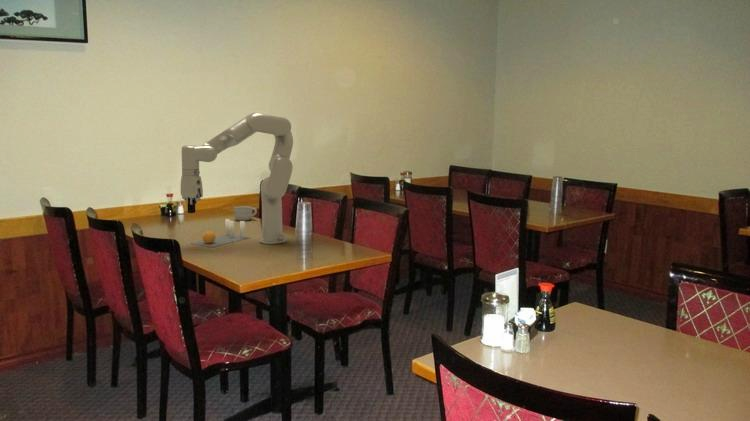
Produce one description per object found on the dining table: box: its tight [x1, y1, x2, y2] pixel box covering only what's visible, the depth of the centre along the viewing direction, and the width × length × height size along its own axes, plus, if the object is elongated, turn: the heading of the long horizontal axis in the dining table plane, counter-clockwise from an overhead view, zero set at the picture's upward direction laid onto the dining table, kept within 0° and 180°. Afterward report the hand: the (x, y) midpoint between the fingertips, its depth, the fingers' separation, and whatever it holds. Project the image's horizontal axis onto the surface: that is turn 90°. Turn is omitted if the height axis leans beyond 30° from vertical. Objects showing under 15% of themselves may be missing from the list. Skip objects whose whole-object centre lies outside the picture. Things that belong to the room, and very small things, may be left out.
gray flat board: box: [190, 234, 252, 248], centre depth 287 cm, size 14×26×1 cm, turn 149°
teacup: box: [233, 205, 258, 222], centre depth 340 cm, size 14×11×8 cm
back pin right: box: [224, 218, 231, 236], centre depth 296 cm, size 2×2×8 cm
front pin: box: [229, 220, 235, 238], centre depth 292 cm, size 2×2×8 cm
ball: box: [202, 230, 217, 244], centre depth 279 cm, size 6×6×6 cm
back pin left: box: [239, 221, 246, 238], centre depth 291 cm, size 2×2×8 cm
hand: (191, 212), depth 269 cm, fingers closed
